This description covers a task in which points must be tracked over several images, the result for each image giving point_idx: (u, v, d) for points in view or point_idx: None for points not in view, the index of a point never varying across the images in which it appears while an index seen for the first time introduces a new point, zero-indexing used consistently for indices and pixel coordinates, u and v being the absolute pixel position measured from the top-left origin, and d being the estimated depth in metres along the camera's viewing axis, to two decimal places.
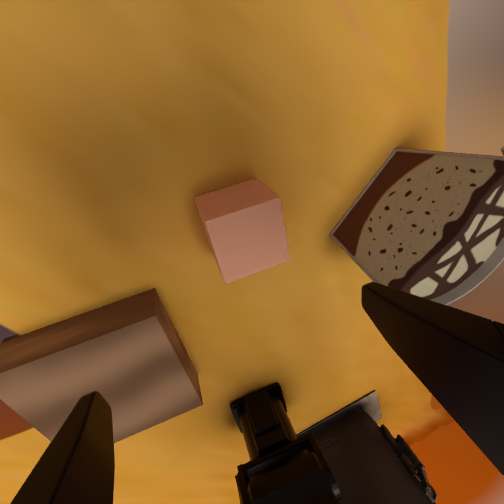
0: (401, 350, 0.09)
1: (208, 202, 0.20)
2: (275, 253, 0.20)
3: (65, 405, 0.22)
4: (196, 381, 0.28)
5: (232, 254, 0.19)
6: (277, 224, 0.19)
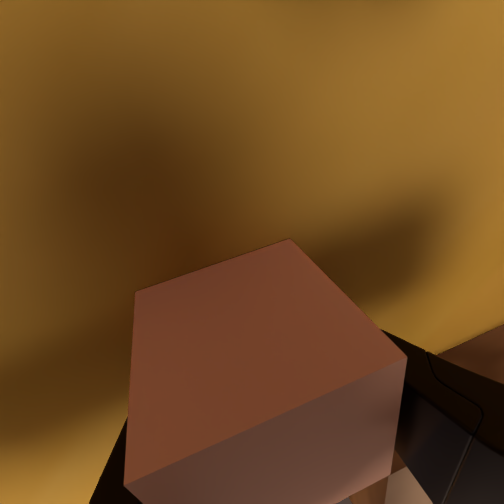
0: None
1: None
2: (356, 410, 0.05)
3: None
4: None
5: (315, 496, 0.07)
6: (244, 447, 0.05)
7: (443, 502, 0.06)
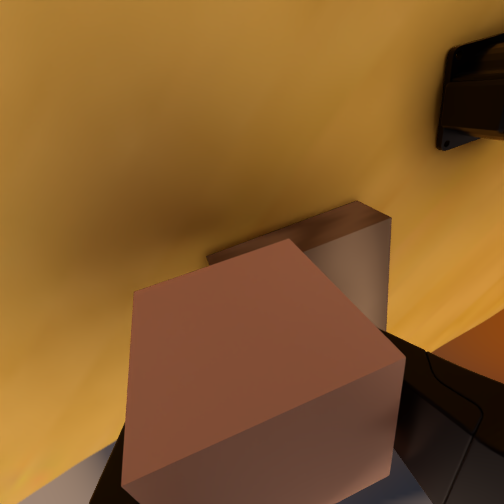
0: None
1: None
2: (355, 411, 0.05)
3: None
4: (358, 213, 0.20)
5: (313, 496, 0.07)
6: (242, 448, 0.05)
7: (443, 502, 0.06)
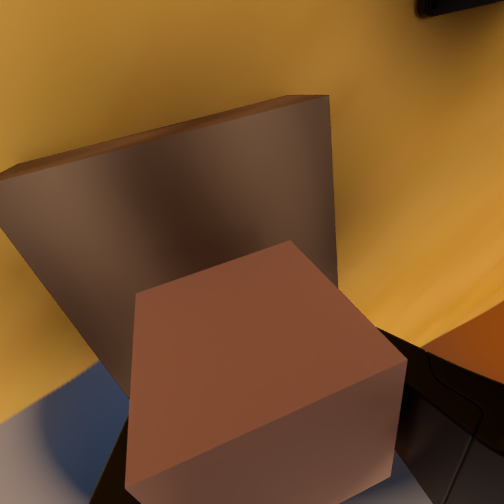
0: None
1: None
2: (357, 413, 0.05)
3: None
4: (280, 101, 0.12)
5: (315, 498, 0.07)
6: (245, 450, 0.05)
7: (442, 502, 0.06)
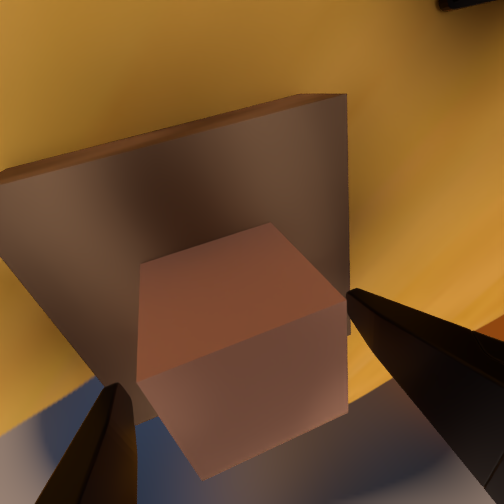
0: (384, 358, 0.09)
1: None
2: (310, 343, 0.07)
3: None
4: (292, 100, 0.11)
5: (284, 422, 0.09)
6: (224, 363, 0.07)
7: (489, 476, 0.07)
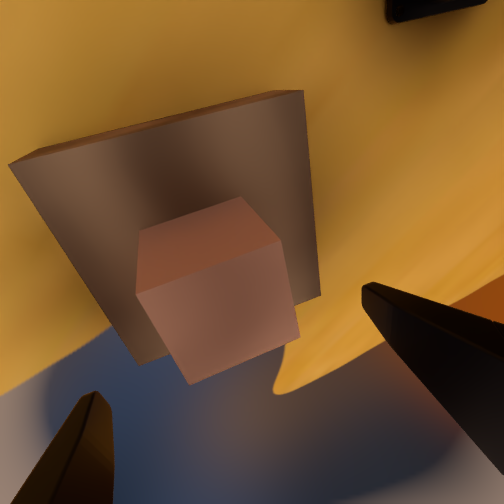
0: (401, 350, 0.09)
1: None
2: (258, 273, 0.10)
3: None
4: (264, 95, 0.14)
5: (248, 340, 0.11)
6: (195, 284, 0.09)
7: None
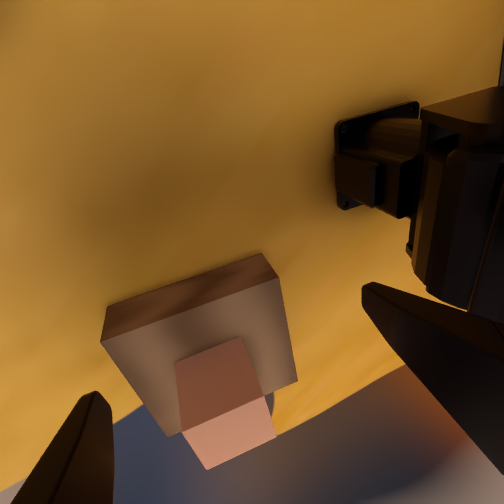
0: (401, 350, 0.09)
1: None
2: (251, 412, 0.17)
3: None
4: (254, 269, 0.21)
5: (243, 443, 0.19)
6: (214, 423, 0.17)
7: None
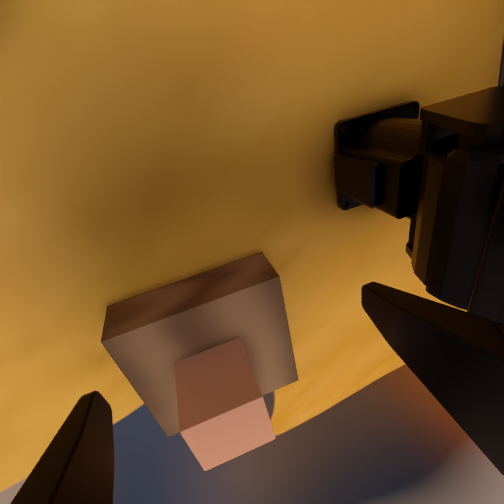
0: (401, 350, 0.09)
1: None
2: (249, 412, 0.17)
3: None
4: (255, 268, 0.21)
5: (242, 444, 0.19)
6: (213, 423, 0.17)
7: None
